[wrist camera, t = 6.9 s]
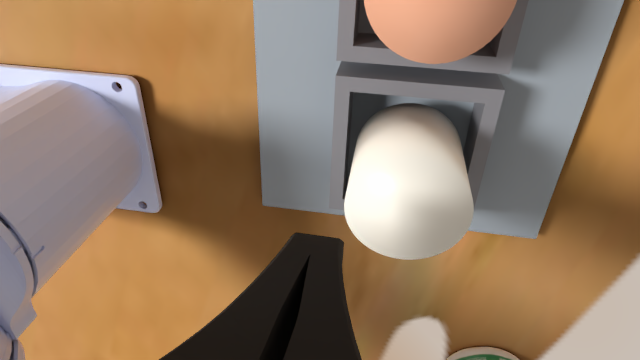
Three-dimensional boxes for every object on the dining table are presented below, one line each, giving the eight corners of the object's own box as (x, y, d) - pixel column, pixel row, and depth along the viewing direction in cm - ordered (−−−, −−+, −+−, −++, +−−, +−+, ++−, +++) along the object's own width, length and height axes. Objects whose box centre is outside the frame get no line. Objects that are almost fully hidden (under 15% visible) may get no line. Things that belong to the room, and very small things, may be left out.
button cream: (352, 188, 21) (340, 251, 17) (360, 98, 19) (348, 149, 15) (450, 199, 20) (459, 267, 17) (470, 108, 18) (487, 163, 14)
